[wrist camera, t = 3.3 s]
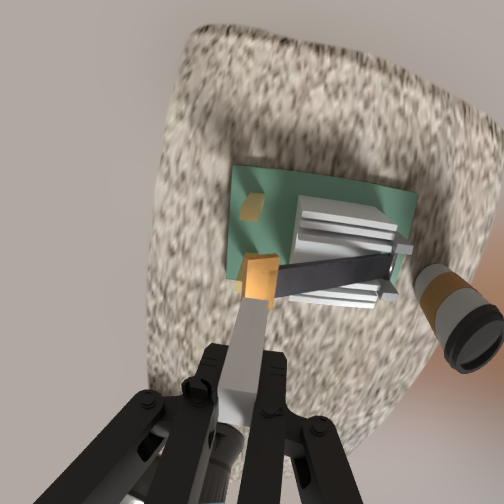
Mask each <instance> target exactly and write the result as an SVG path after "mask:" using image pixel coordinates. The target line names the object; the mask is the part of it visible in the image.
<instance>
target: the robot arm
mask: <svg viewBox="0 0 504 504" xmlns="http://www.w3.org/2000/svg"><path fill="white" fill-rule="evenodd" d="M268 306H269V300H261V299H254V298H246V297H243V298H242V301H241V305H240V309H239V312H238V316H237V319H236V323H235V326H234V330H233V334H232V337H231V341H230V344H229V346H227V345H221V344H215V343H211V344H210V345H209V346H208V347H207V348H206V349H205V350H204V353H203V356H202V358H201V361H200V364H199V366H198V369H197V372H196V374H195V376H192V377H189V378H187V379H186V380H184V382H183V383H182V384H181V386H182V392H183V394H182V395H179V396H171V397H162V396H161V394H160V393H158V392H157V391H154V390H142V391H139V392H138V393H137V394H135V396H133V398H132V399H131V400H130V401H129V402H128V403H127V404H126V405H125V406H124V407H123V408H122V410H121V411H120V412H119V413H118V414H117V415H116V416H115V417H114V418H113V419H112V420H111V422H110V423H109V424H108V425H107V426H106V427H105V428H104V429H103V430H102V431H101V433H99V434H98V435H97V437H96V438H95V439H94V440H93V441H92V442H91V443H90V444H89V445H88V446H87V448H85V449H84V451H83V452H82V453H81V454H80V455H79V456H78V457H77V458H76V459H75V460H74V461H73V462H72V463H71V464H70V465H69V466H68V467H67V469H66V470H65V471H64V472H63V473H62V474H61V475H60V476H59V477H58V478H57V479H56V480H55V481H54V483H52V484H51V485H50V486H49V488H48V489H47V490H46V491H45V492H44V493H43V494H42V495H41V496H40V497H39V498H38V499H37V500H36V501H35V502H34V503H33V504H225V499H226V494H227V489H228V483H229V478H230V473H231V468H232V466H233V464H234V463H235V461H236V459H237V458H238V456H239V454H240V452H241V451H242V449H243V446H244V437H243V436H242V434H241V433H240V432H238V431H237V430H235V429H234V428H232V427H230V426H227V425H225V424H222V423H219V422H223V423H228V424H234V425H241V426H248V427H250V432H249V438H248V443H247V450H246V456H245V462H244V467H243V473H242V479H241V484H240V490H239V495H238V501H237V504H280V496H281V484H282V473H283V461H284V455H286V456H289V457H290V458H291V462H292V466H293V470H294V474H295V479H296V482H297V487H298V491H299V495H300V499H301V503H302V504H363V502H362V499H361V496H360V493H359V490H358V487H357V485H356V482H355V479H354V476H353V474H352V471H351V468H350V466H349V463H348V460H347V457H346V454H345V452H344V449H343V446H342V444H341V441H340V438H339V436H338V433H337V430H336V428H335V425H334V424H333V422H332V421H331V420H330V419H328V418H327V417H324V416H313V417H310V418H308V419H307V418H304V417H301V416H298V415H296V414H294V413H293V412H291V411H290V410H289V409H288V407H287V405H286V401H285V397H286V375H287V359H286V357H285V355H284V353H283V352H275V351H266V350H263V346H264V338H265V330H266V322H267V314H268ZM217 420H218V422H217ZM164 445H165V447H164ZM163 447H164V449H163V452H162V455H161V454H159V452H160V451H161V449H162V448H163Z"/></svg>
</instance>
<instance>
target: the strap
mask: <svg viewBox="0 0 504 504" xmlns="http://www.w3.org/2000/svg"><path fill="white" fill-rule="evenodd" d="M397 256H398V253H395V252H394V251H393V250H392V249H391V252H389V253H381V254H373V255H364V256H356V257H348V258H339V259H330V260H321V261H312V262H303V263H294V264H285V265H279V261H280V257H279V256H278V255H277V254H276V253H272V254H260V255H248V256H244V268H243V281H242V294H241V301H242V298H243V297H246V298H254V299H261V300H269V306H268V310H269V309H273V303H274V298H278V297H284V296H290V295H296V294H302V293H308V292H313V291H319V290H325V289H330V288H335V287H341V286H346V285H351V284H356V283H361V282H366V281H371V280H376V279H380V278H382V279H384V280H386V281H390V279H391V276H392V273H393V270H394V266H395V263H396V259H397Z"/></svg>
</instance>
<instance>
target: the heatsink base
mask: <svg viewBox="0 0 504 504" xmlns="http://www.w3.org/2000/svg"><path fill="white" fill-rule="evenodd" d="M417 199H418V194H417V193H415V192H411V191H406V190H402V189H397V188H393V187H388V186H383V185H378V184H373V183H368V182H363V181H357V180H352V179H346V178H340V177H334V176H328V175H321V174H314V173H307V172H299V171H291V170H283V169H274V168H265V167H254V166H243V165H233V168H232V182H231V197H230V213H229V230H228V248H227V269H226V279H231V280H236V281H235V291H237V292H242V281H243V268H244V256H248V255H260V254H272V253H276V254H277V255H278V256H279V257H280V261H279V265H285V264H294V263H303V262H312V261H321V260H330V259H339V258H348V257H356V256H364V255H373V254H381V253H389V252H391V249H392V250H393V251H394V252H395V253H398V256H397V259H396V263H395V266H394V270H393V273H392V276H391V279H390V281H386V280H384V279H382V278H380V279H376V280H371V281H366V282H361V283H356V284H351V285H346V286H341V287H335V288H330V289H325V290H319V291H313V292H308V293H302V294H296V295H290V296H288V301H297V302H307V303H316V304H326V305H337V306H348V307H360V308H372V309H373V308H374V306H375V302H374V301H376V300H377V297H378V296H379V298H380V300H381V301H393V302H396V300H397V298H398V295H399V294H398V292H397V290H396V289H395V287H394V286H395V283H396V280H397V277H398V274H399V270H400V267H401V264H402V260H403V257H404V254H407V255H411V254H412V251H413V247H414V246H413V245H412V244H411V243H410V242H409V241H408V238H409V235H410V230H411V226H412V222H413V218H414V213H415V209H416V204H417Z"/></svg>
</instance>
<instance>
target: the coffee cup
mask: <svg viewBox="0 0 504 504" xmlns="http://www.w3.org/2000/svg"><path fill="white" fill-rule="evenodd" d="M415 296H416V298H417V300H418V302H419V303H420V307H421V308H422V310H423V312H424V314H425V316H426V318H427V320H428V322H429V324H430V326H431V328H432V330H433V332H434V334H435V336H436V338H437V339H438V340H439V342H440V345H441V347H442V349H443V351H444V357H445V359H446V360H447V362H448V363H449V364H450V366H451V367H452V368H453V369H456V370H457V371H458V372H459V373H461V374H468V373H472V372H474V371H476V370H478V369H480V368H481V367H483V366H484V365H486V364H487V363H488V362H489V361H490V360H491V359H492V358H493V357H494V356H495V355H496V353H497V352H498V350H499V349H500V347H501V346H502V344H503V342H504V318H503V315H502V314H501V313H500V311H499V309H498V308H497V307H496V306H495V305H492V304H490V303H489V302H488V301H487V300H486V299H485V298H484V297H483V296H482V295H481V294H480V293H479V292H478V291H477V290H476V289H474V288H473V287H472V286H471V285H470V284H468V283H467V282H466V281H465V280H464V279H462V278H461V277H460V276H459V275H457V274H456V273H454V272H453V271H451V270H450V269H449V268H448V267H446V266H445V265H442V264H432V265H429V266H427V267H425V268H424V269H423V270H422V271H421V272H420V274H419V275H418V277H417V279H416V282H415Z"/></svg>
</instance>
